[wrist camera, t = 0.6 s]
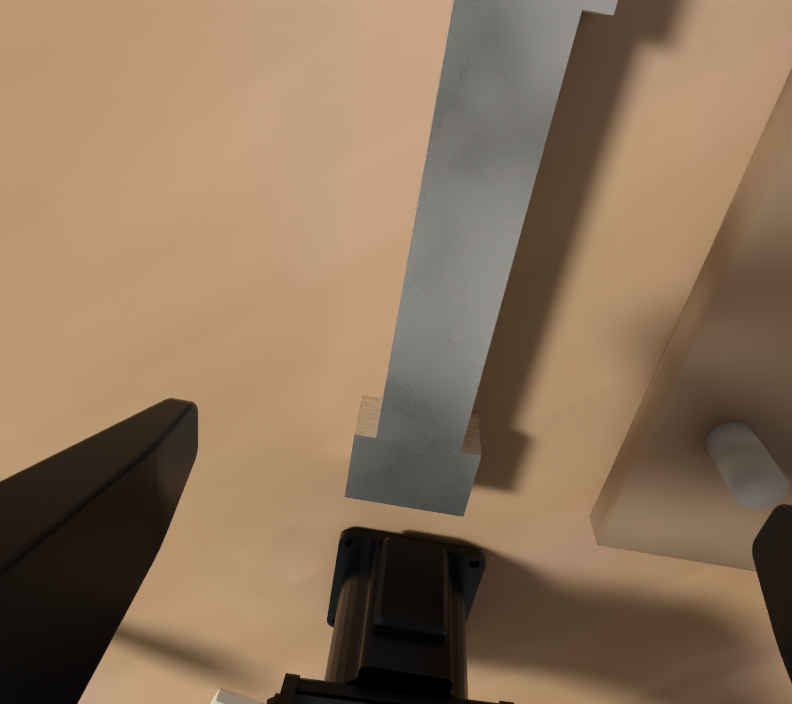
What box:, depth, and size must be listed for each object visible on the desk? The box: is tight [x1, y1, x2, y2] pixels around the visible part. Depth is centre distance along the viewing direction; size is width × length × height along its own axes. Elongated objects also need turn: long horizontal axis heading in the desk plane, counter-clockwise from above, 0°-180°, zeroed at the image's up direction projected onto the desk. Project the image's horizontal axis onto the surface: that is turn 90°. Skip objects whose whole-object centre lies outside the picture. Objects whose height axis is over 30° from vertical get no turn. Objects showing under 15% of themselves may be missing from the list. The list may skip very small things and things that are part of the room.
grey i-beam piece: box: [345, 0, 618, 516], centre depth 19 cm, size 20×4×2 cm, turn 171°
